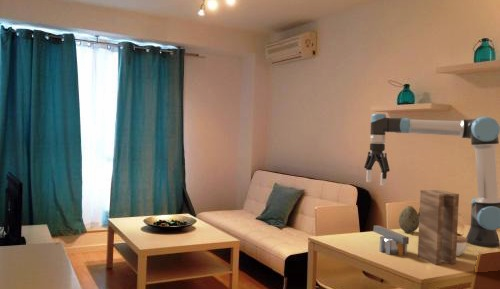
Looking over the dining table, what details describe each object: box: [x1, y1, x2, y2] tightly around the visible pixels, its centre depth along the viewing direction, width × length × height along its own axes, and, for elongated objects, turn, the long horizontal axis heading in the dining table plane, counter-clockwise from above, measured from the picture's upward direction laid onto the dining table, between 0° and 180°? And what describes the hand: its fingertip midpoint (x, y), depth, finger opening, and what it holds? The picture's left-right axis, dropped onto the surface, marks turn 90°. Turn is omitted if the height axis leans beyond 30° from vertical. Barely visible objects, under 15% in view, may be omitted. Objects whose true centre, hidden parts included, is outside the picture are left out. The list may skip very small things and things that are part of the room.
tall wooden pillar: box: [417, 189, 460, 266], centre depth 185 cm, size 10×12×30 cm
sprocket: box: [379, 235, 408, 256], centre depth 197 cm, size 12×12×6 cm
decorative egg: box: [398, 205, 419, 234], centre depth 238 cm, size 11×11×15 cm
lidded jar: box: [456, 235, 468, 257], centre depth 196 cm, size 11×11×9 cm
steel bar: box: [373, 225, 410, 245], centre depth 199 cm, size 3×24×3 cm, turn 15°
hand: (375, 183), depth 222 cm, fingers open, 13 cm apart
